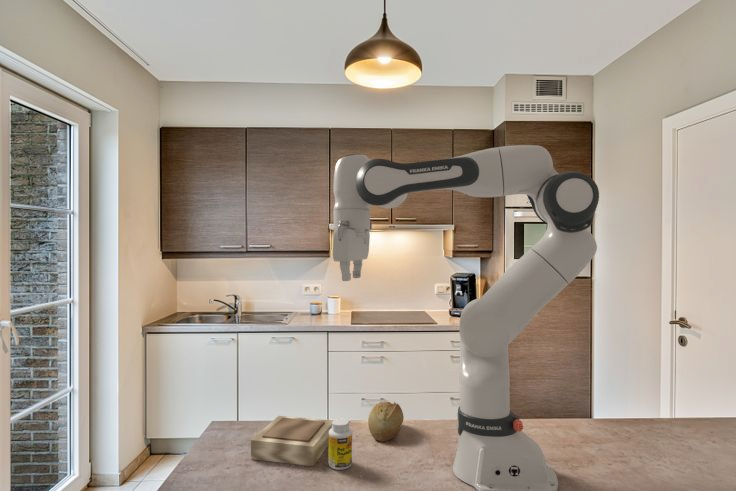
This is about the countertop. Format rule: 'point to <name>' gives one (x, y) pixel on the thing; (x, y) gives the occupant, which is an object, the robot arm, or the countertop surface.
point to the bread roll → (385, 420)
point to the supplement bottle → (340, 445)
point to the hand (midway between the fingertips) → (351, 279)
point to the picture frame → (292, 440)
